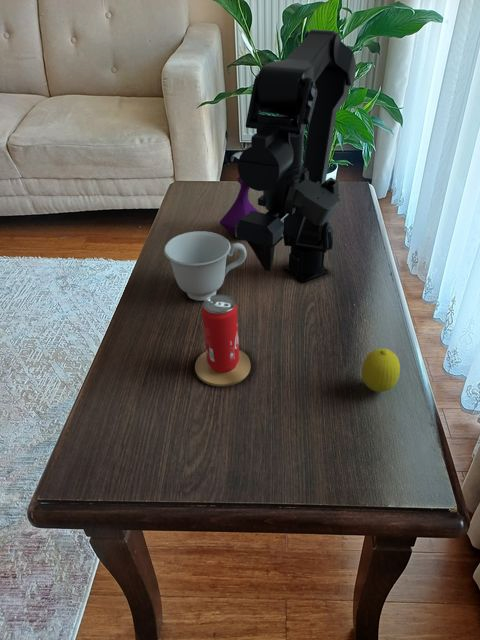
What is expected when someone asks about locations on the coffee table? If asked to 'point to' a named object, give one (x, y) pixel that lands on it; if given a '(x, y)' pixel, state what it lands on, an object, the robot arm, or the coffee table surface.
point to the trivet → (222, 379)
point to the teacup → (201, 262)
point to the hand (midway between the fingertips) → (280, 257)
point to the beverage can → (221, 332)
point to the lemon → (381, 370)
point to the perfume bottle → (237, 206)
